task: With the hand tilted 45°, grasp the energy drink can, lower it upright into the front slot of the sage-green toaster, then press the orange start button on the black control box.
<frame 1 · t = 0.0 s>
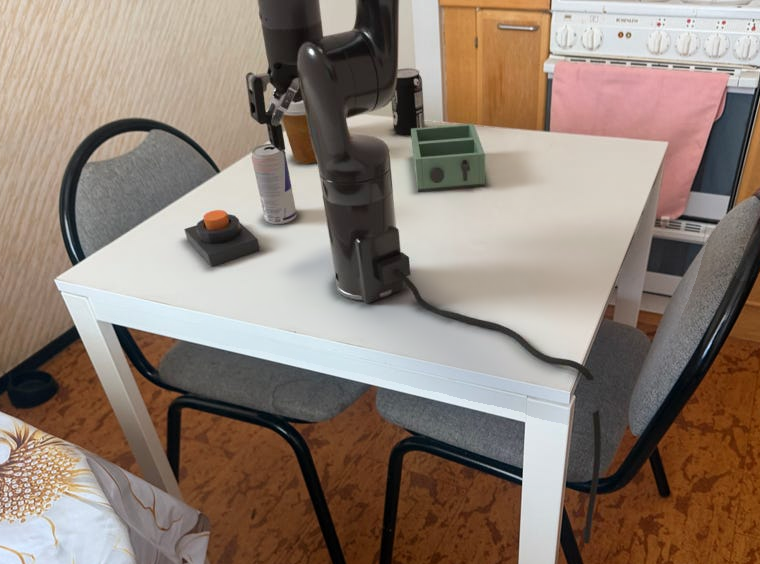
hand: (307, 141, 98), 17 cm above the table, tool pointing down, fingers open, 8 cm apart
disposable coffee cup: (310, 158, 139), on the table
control box: (223, 246, 111), on the table
beverage can: (409, 132, 148), on the table
alcohol: (321, 138, 148), on the table
start button: (216, 220, 109), point 5 cm above the table, slide at 0.2 cm
energy drink: (281, 219, 118), on the table
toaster: (447, 172, 130), on the table
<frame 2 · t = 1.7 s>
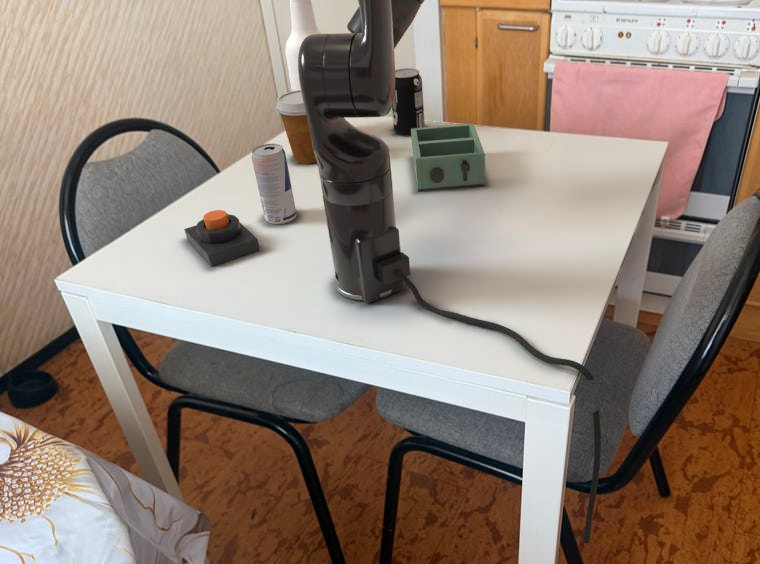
hand: (324, 108, 108), 17 cm above the table, tool tilted 40°, fingers open, 8 cm apart
nothing on the table moved.
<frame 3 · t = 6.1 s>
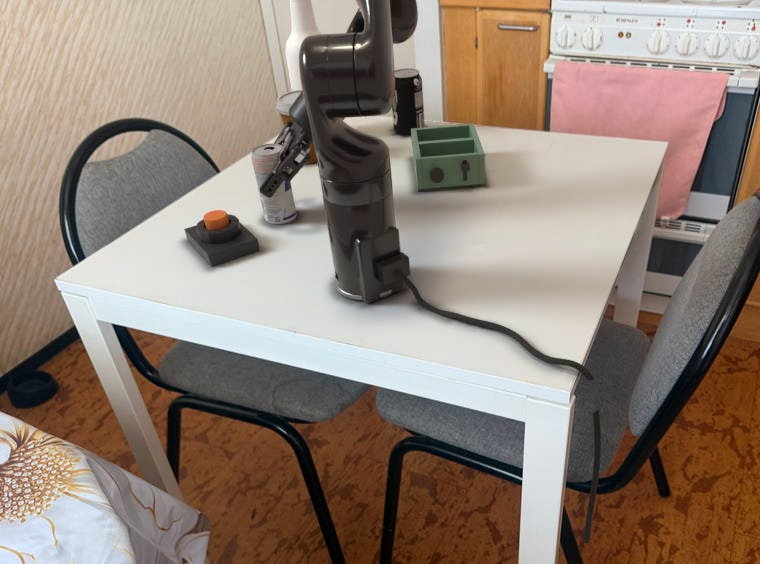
hand: (263, 186, 114), 6 cm above the table, tool tilted 45°, fingers closed on energy drink, 5 cm apart
energy drink: (281, 219, 118), on the table, touching gripper
everything else where it was.
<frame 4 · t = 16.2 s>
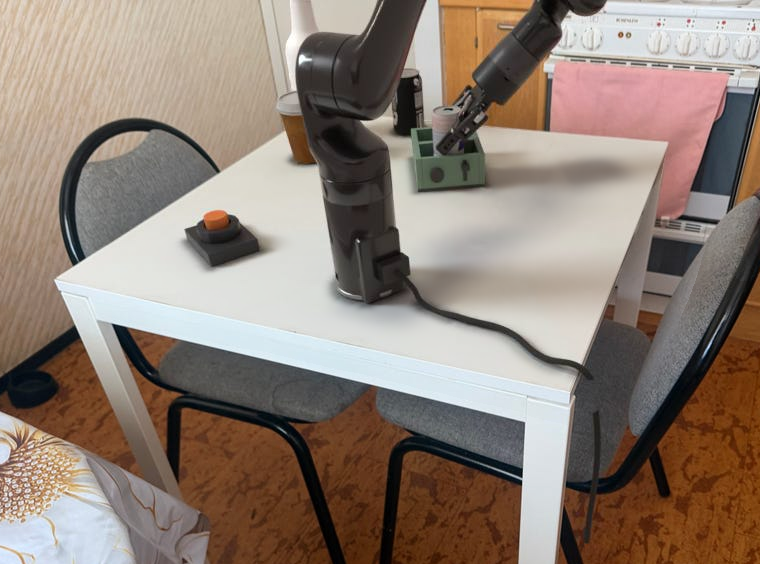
hand: (438, 145, 123), 7 cm above the table, tool tilted 45°, fingers closed on energy drink, 5 cm apart
energy drink: (449, 177, 127), resting on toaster, touching gripper
everything else where it was.
when the fingers open (8 cm above the table, at t = 27.3 s): energy drink drops 2 cm, resting on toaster.
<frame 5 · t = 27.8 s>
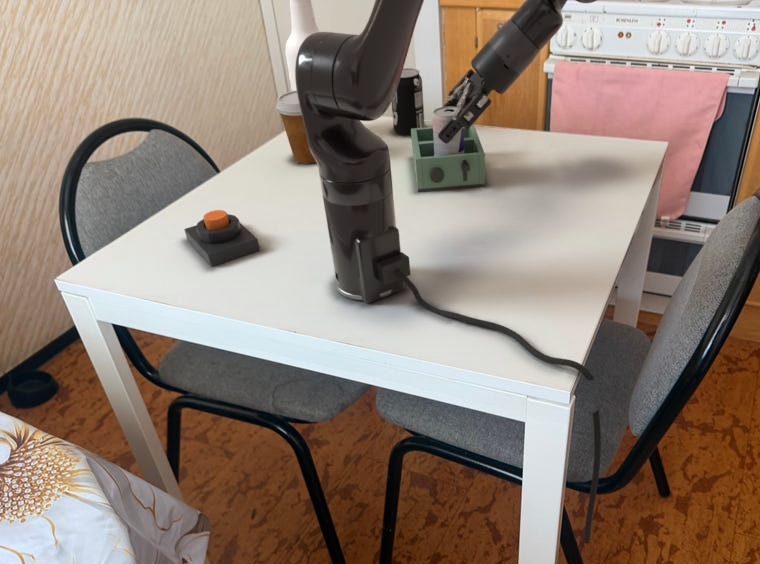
hand: (439, 131, 121), 9 cm above the table, tool tilted 45°, fingers open, 8 cm apart
energy drink: (450, 178, 127), resting on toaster
everything else where it was.
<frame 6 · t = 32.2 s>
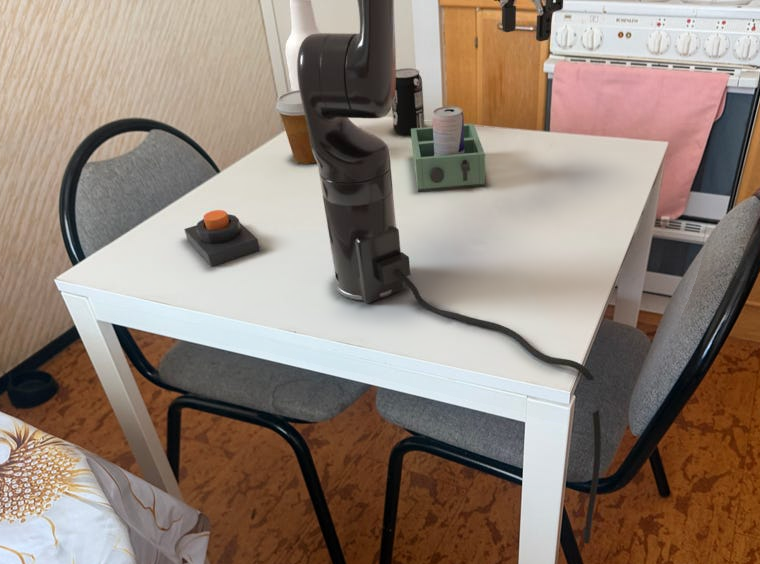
hand: (525, 35, 112), 24 cm above the table, tool pointing down, fingers open, 8 cm apart
nothing on the table moved.
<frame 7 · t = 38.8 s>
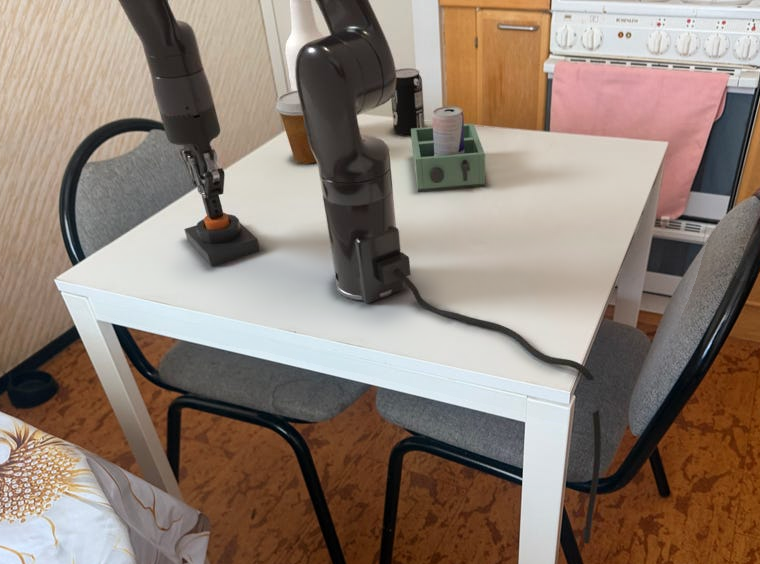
hand: (215, 216, 108), 5 cm above the table, tool pointing down, fingers closed
start button: (217, 222, 109), point 4 cm above the table, slide at -0.2 cm, touching gripper
everything else where it was.
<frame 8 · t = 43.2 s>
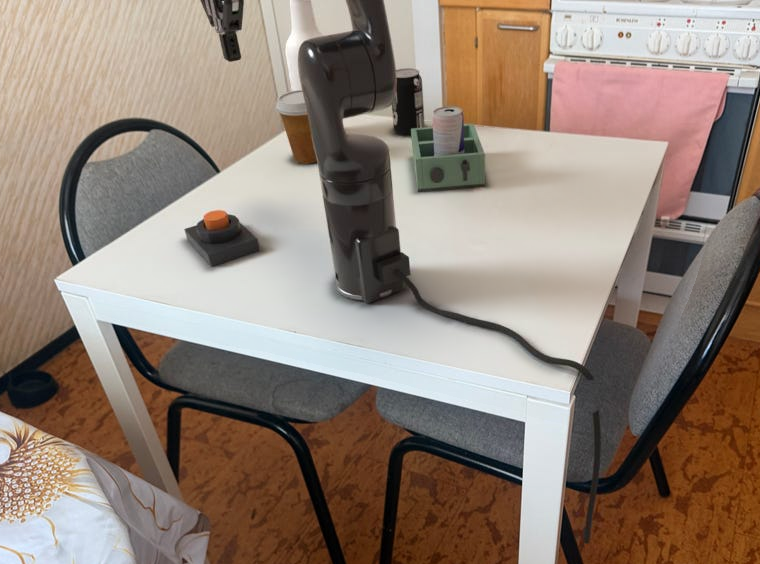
hand: (233, 59, 105), 25 cm above the table, tool pointing down, fingers closed
start button: (216, 220, 109), point 5 cm above the table, slide at 0.1 cm
everything else where it was.
at the end: energy drink 0.2 cm from the target spot on the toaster, point 0.3 cm above the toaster's base; start button pushed in 0.9 cm at the most during the clip, back to where it started at the end; start button slide at 0.1 cm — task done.
